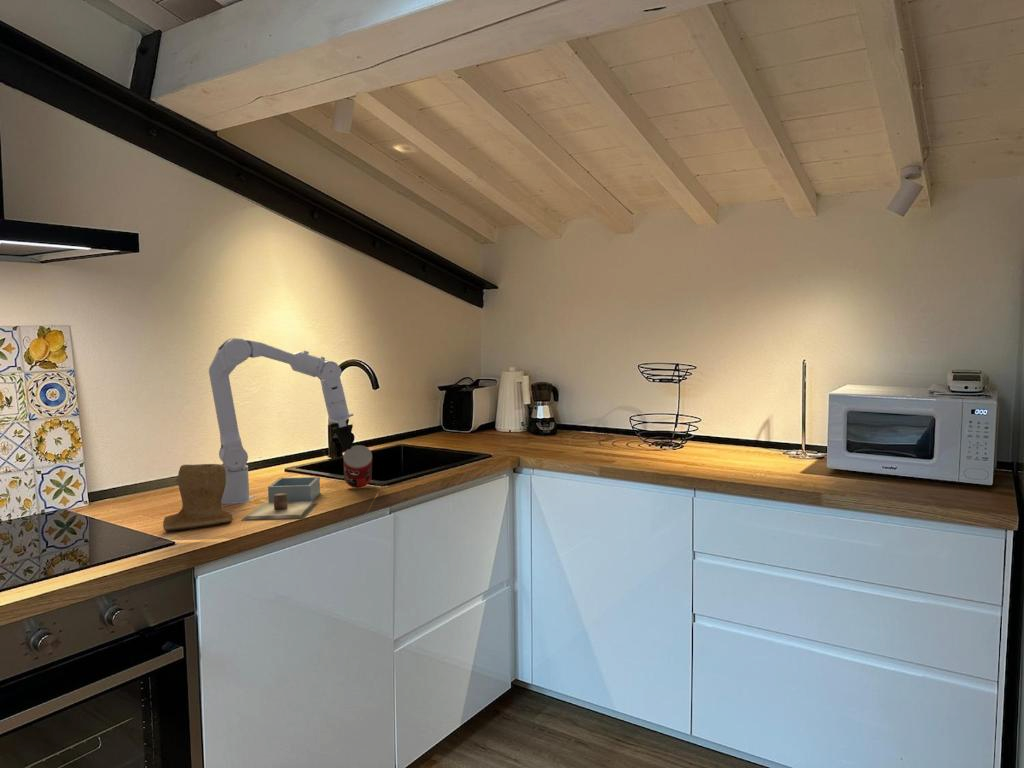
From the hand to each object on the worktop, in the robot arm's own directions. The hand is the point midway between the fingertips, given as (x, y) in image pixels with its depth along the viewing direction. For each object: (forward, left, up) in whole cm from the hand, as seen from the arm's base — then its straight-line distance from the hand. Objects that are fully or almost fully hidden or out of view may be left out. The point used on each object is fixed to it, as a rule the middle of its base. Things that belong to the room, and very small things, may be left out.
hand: (346, 446), depth 199 cm
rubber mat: (-12, -27, -12) cm, 32 cm away
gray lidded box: (-12, -13, -12) cm, 21 cm away
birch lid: (-12, -27, -12) cm, 32 cm away
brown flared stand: (-29, -36, -12) cm, 48 cm away
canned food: (+3, +2, -10) cm, 10 cm away
